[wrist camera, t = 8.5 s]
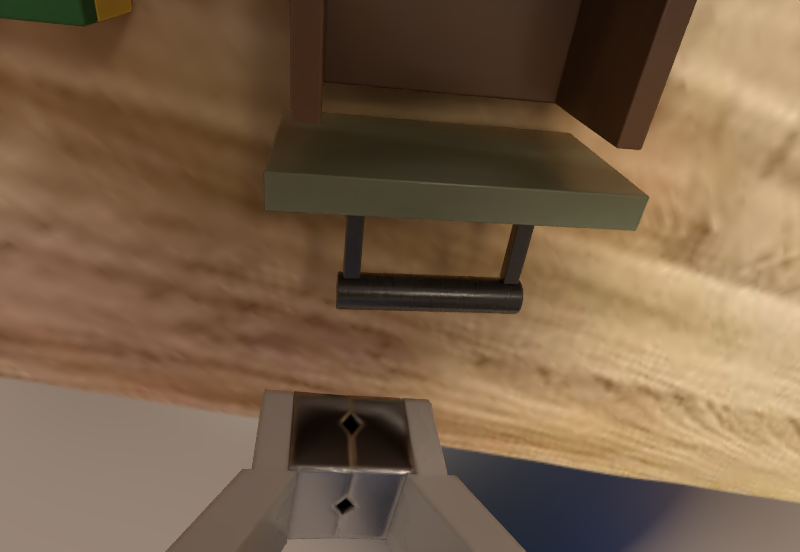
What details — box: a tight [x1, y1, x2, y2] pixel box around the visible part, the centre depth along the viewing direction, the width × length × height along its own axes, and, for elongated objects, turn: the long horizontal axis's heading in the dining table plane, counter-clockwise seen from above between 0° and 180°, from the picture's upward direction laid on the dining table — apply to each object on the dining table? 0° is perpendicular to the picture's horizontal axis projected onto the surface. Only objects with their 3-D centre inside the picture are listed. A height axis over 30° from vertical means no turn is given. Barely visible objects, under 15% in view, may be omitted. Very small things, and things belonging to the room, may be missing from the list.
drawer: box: [264, 0, 697, 314], centre depth 15 cm, size 18×11×6 cm, turn 174°
